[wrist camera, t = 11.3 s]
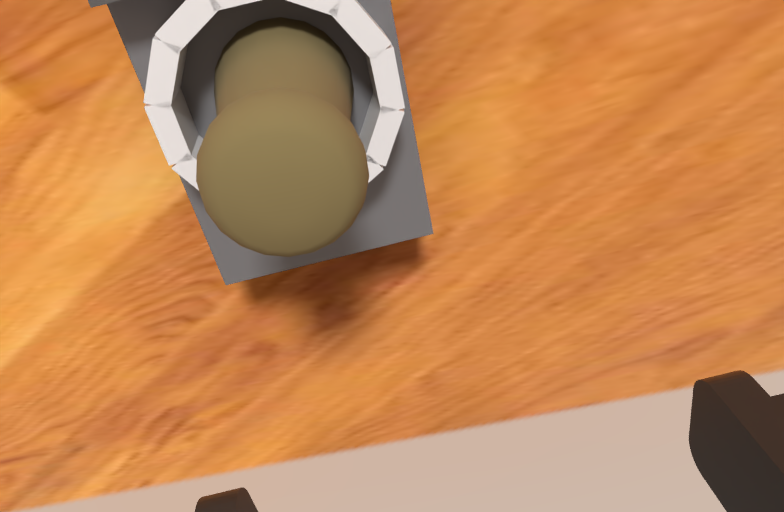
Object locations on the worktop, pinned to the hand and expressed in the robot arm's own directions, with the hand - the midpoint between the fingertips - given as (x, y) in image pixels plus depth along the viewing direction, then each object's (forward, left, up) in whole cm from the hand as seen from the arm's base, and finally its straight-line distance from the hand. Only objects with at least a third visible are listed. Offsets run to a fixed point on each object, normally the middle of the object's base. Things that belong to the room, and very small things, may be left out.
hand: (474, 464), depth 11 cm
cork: (+3, -2, -20) cm, 20 cm away
